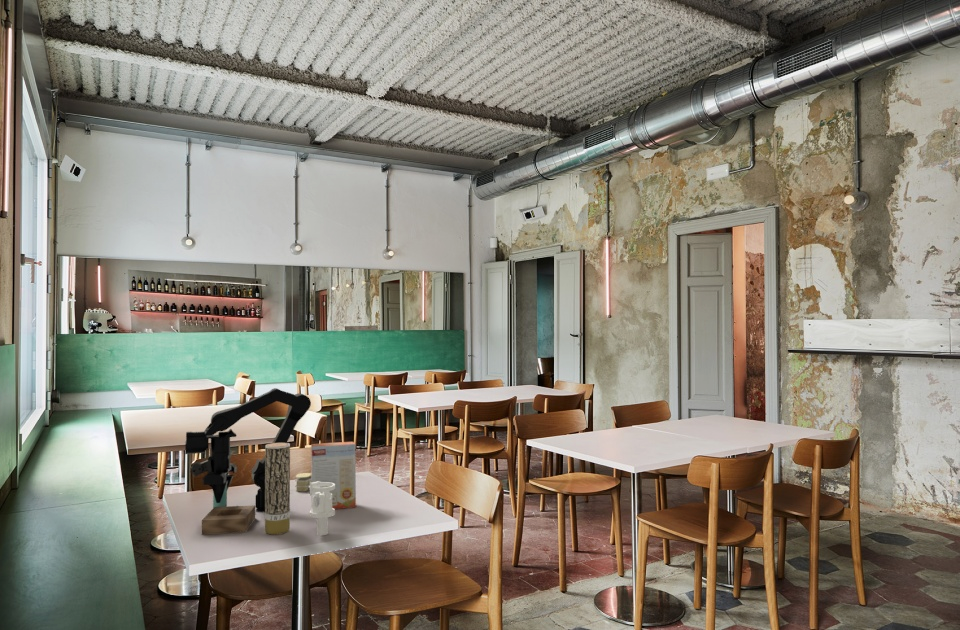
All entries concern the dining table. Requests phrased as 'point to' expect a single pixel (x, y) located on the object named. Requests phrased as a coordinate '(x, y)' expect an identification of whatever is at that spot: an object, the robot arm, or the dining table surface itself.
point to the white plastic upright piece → (321, 505)
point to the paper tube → (277, 488)
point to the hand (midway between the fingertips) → (220, 501)
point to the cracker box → (336, 471)
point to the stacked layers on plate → (303, 481)
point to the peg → (223, 500)
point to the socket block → (228, 519)
